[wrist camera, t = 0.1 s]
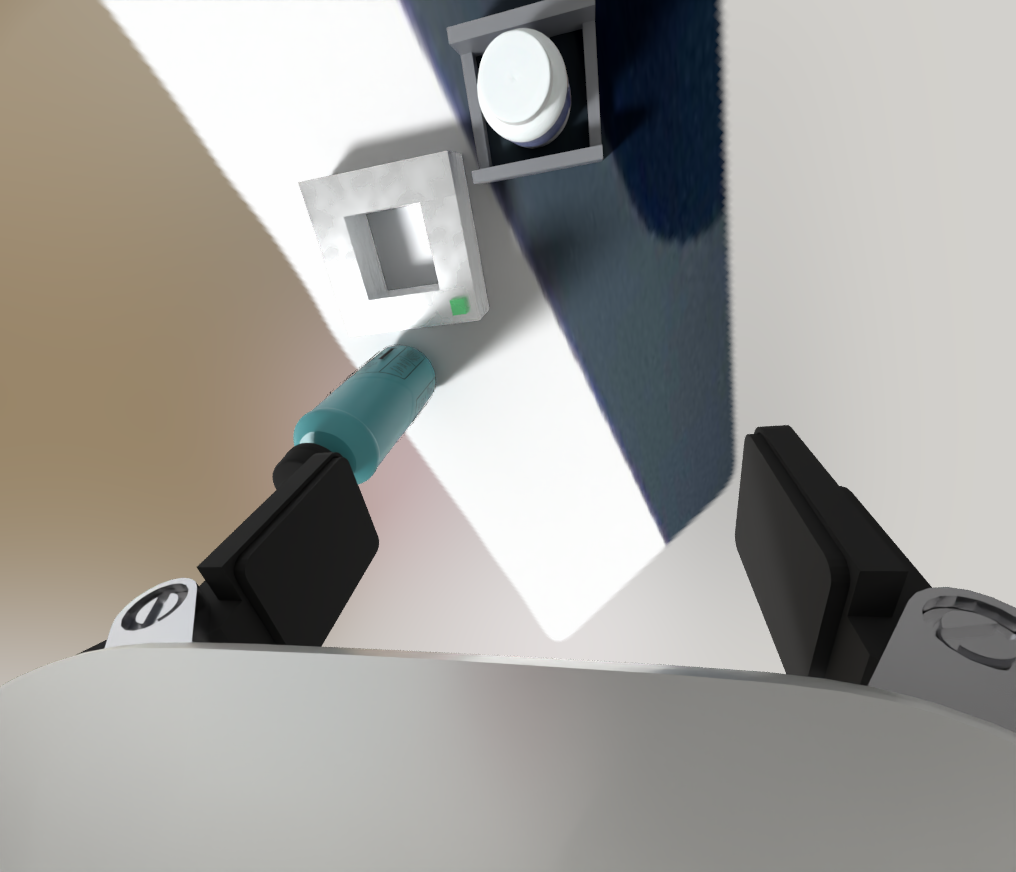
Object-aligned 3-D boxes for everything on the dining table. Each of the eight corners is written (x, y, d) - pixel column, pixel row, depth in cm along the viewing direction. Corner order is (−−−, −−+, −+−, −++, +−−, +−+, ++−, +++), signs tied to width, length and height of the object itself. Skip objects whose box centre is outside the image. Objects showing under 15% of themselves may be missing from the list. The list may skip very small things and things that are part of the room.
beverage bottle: (409, 324, 42) (283, 420, 25) (456, 376, 44) (369, 500, 27) (367, 363, 45) (227, 475, 28) (413, 411, 47) (309, 543, 29)
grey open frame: (462, 45, 31) (446, 27, 28) (593, 9, 29) (594, -14, 26) (485, 183, 35) (473, 183, 32) (602, 161, 33) (603, 158, 30)
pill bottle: (587, 93, 31) (585, 60, 23) (540, 165, 34) (524, 159, 26) (527, 37, 30) (502, -19, 22) (484, 115, 33) (447, 93, 25)
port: (325, 182, 37) (293, 182, 33) (461, 153, 34) (444, 149, 30) (369, 324, 43) (346, 338, 39) (489, 308, 40) (478, 322, 36)
